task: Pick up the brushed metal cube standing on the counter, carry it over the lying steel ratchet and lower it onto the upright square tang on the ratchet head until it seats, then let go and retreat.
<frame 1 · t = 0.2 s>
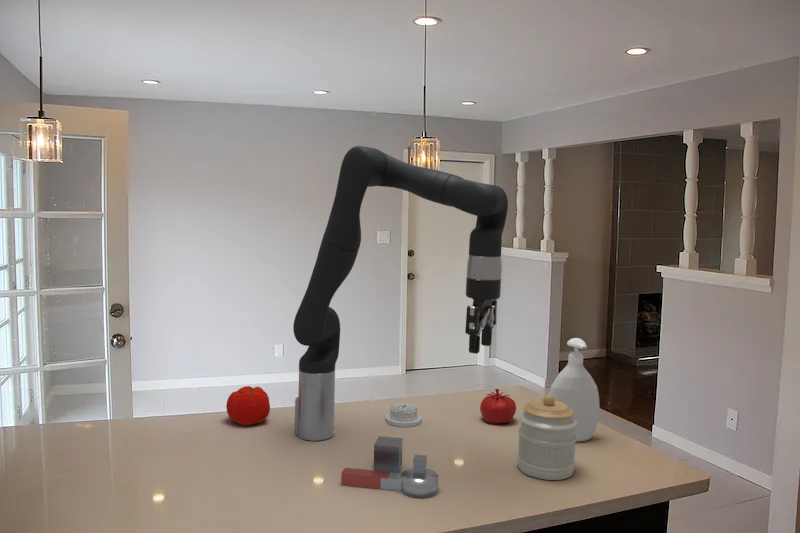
hand: (480, 349, 139), 28 cm above the kitchen island, fingers open, 8 cm apart
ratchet: (419, 489, 133), on the kitchen island
mechanical component: (403, 422, 175), on the kitchen island
pomegranate: (497, 421, 178), on the kitchen island
brushed metal cube: (387, 467, 143), on the kitchen island
jar: (545, 470, 145), on the kitchen island
tomato: (248, 422, 171), on the kitchen island
soap bottle: (572, 441, 164), on the kitchen island
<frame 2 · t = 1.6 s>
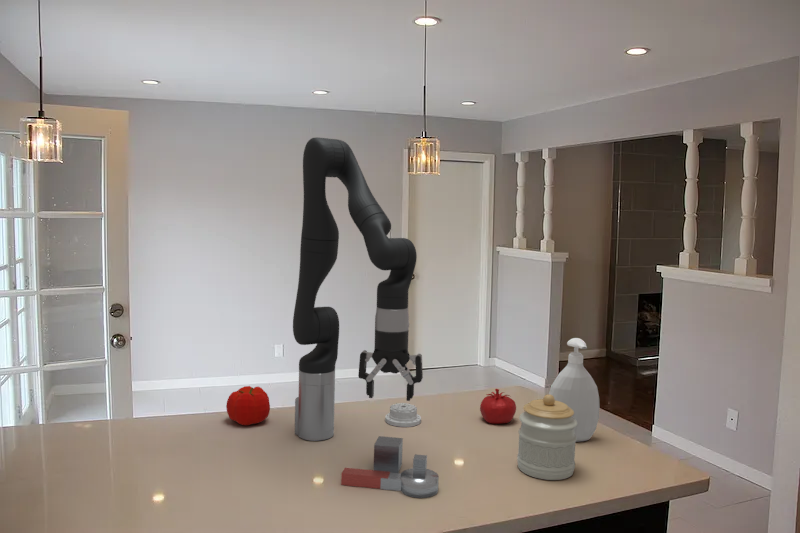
hand: (389, 398, 142), 16 cm above the kitchen island, fingers open, 8 cm apart
nothing on the kitchen island moved.
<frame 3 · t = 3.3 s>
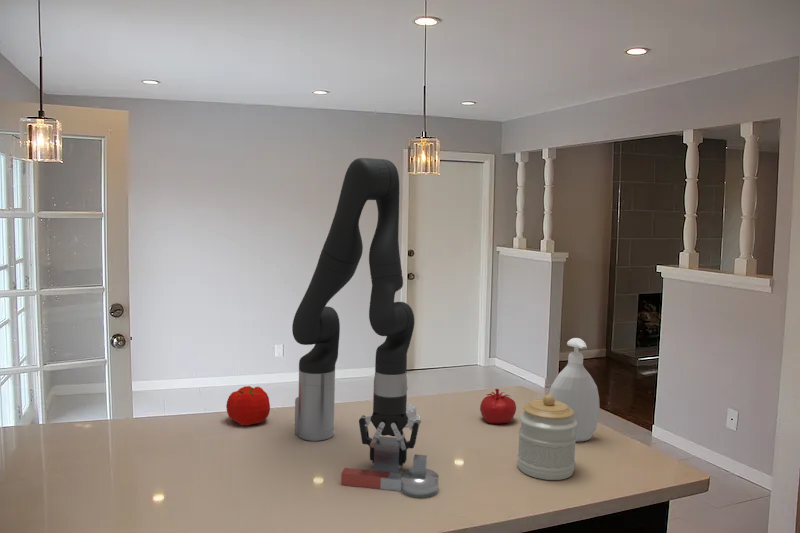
hand: (388, 463, 143), 1 cm above the kitchen island, fingers closed on brushed metal cube, 5 cm apart
brushed metal cube: (387, 467, 143), on the kitchen island, touching gripper
everything else where it was.
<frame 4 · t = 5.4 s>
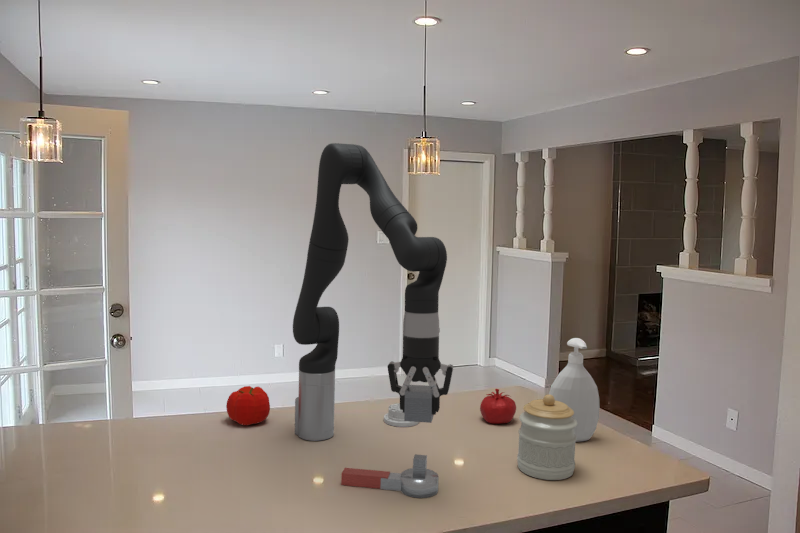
hand: (419, 412, 132), 16 cm above the kitchen island, fingers closed on brushed metal cube, 5 cm apart
brushed metal cube: (419, 417, 132), point 15 cm above the kitchen island, touching gripper
everything else where it was.
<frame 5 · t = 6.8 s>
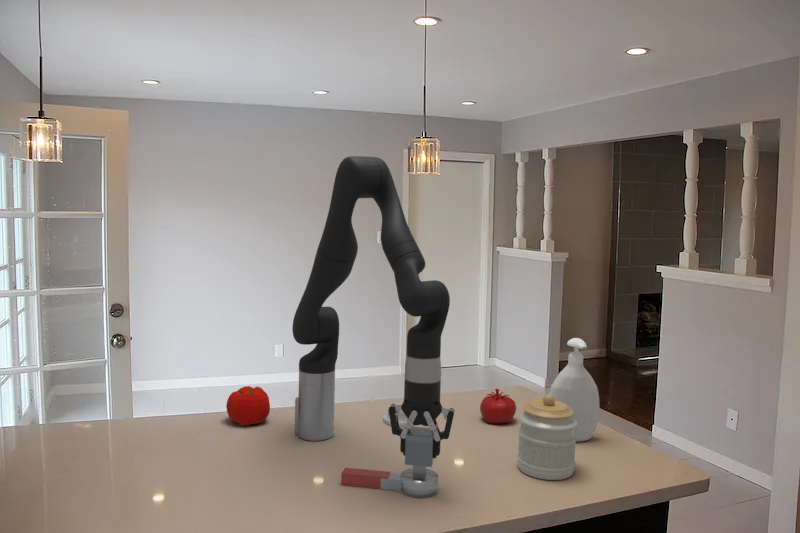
hand: (420, 455, 132), 7 cm above the kitchen island, fingers closed on brushed metal cube, 5 cm apart
brushed metal cube: (419, 460, 132), point 6 cm above the kitchen island, touching gripper
everything else where it was.
when the fingers open (5 cm above the kitchen island, at t = 7.7 s): brushed metal cube stays where it is, resting on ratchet.
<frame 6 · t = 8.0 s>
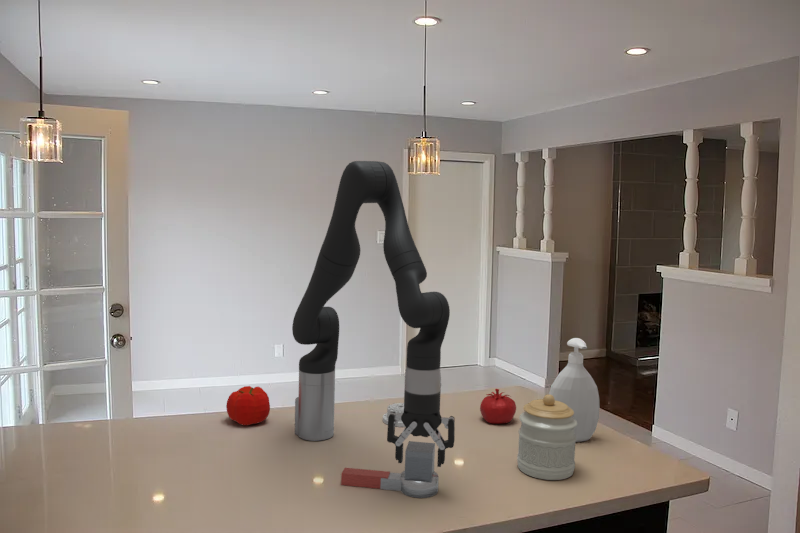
hand: (419, 463, 132), 6 cm above the kitchen island, fingers open, 8 cm apart
brushed metal cube: (419, 475, 132), point 3 cm above the kitchen island, touching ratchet
everything else where it was.
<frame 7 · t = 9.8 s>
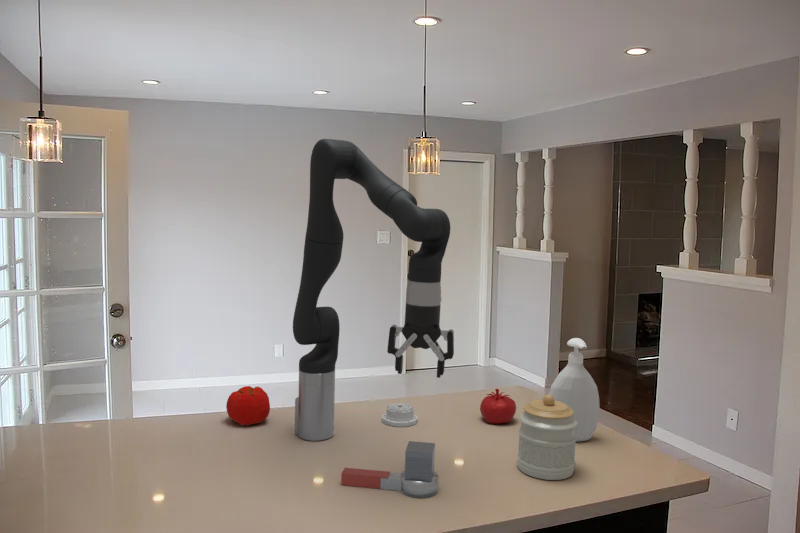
hand: (419, 374, 137), 23 cm above the kitchen island, fingers open, 8 cm apart
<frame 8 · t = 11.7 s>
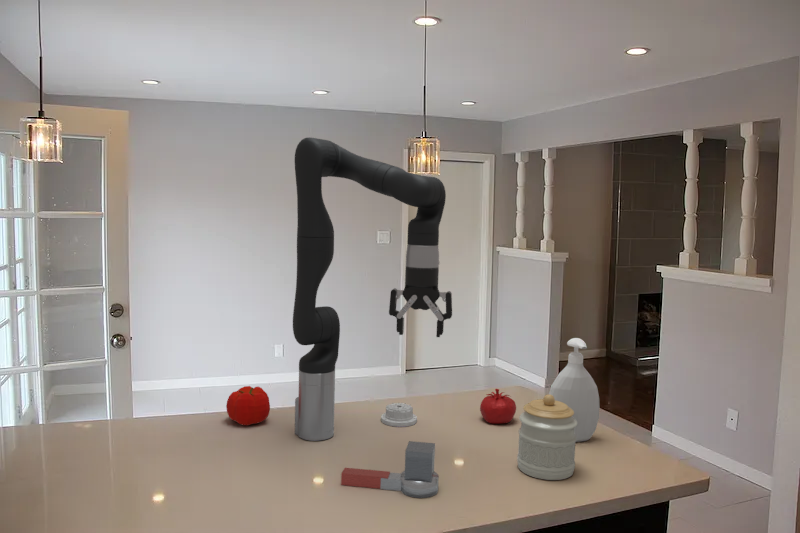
hand: (419, 335, 144), 30 cm above the kitchen island, fingers open, 8 cm apart
at the end: brushed metal cube 0.0 cm off-centre on the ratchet, point 3.0 cm above the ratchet's base; brushed metal cube tilted 0°; the gripper is holding nothing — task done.
